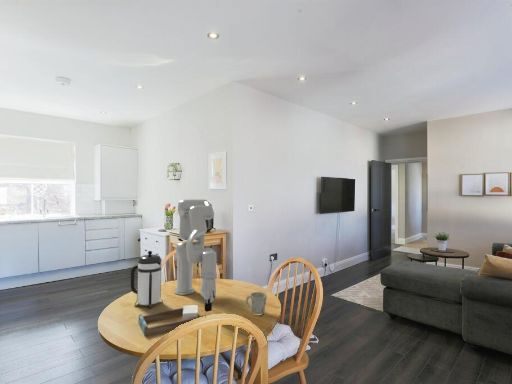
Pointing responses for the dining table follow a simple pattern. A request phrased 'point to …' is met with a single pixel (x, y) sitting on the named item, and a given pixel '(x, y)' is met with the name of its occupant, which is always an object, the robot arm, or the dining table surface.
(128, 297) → the dining table surface
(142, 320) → the bay
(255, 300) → the mug
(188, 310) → the silver block
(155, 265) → the coffee press
